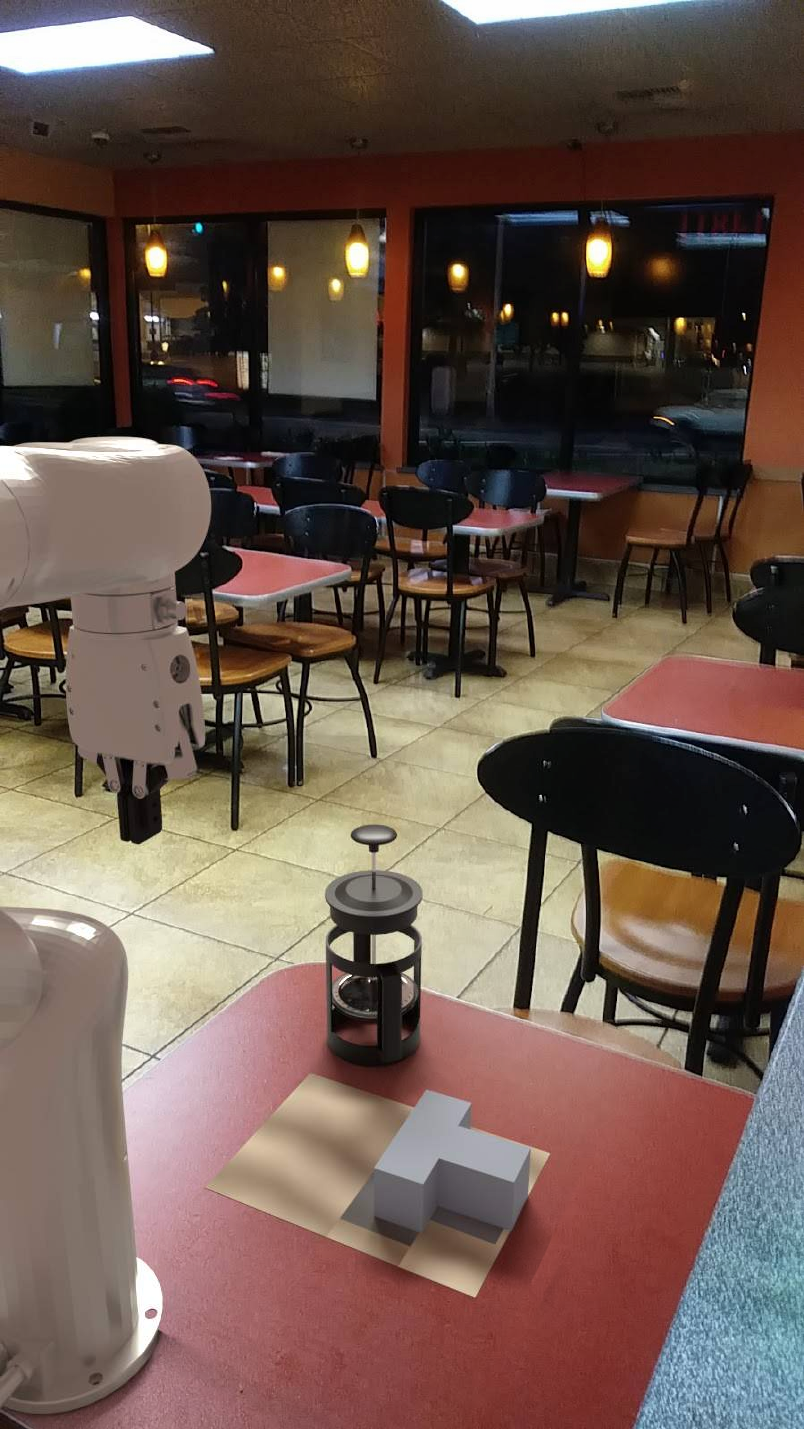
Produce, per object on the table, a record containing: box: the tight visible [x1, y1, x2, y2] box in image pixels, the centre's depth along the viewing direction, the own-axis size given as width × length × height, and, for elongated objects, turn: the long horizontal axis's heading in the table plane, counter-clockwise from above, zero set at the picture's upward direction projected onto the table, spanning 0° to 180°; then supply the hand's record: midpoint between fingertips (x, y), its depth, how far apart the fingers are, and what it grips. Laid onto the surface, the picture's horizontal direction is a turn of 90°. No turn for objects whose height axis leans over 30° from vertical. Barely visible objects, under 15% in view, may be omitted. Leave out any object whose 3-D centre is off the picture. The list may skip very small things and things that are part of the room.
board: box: [204, 1072, 551, 1299], centre depth 86 cm, size 16×23×1 cm
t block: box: [374, 1089, 531, 1233], centre depth 83 cm, size 10×10×4 cm
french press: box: [324, 823, 424, 1068], centre depth 99 cm, size 12×9×23 cm
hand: (141, 835), depth 85 cm, fingers closed
